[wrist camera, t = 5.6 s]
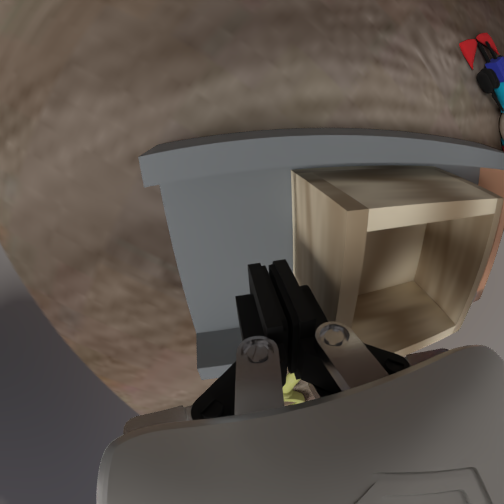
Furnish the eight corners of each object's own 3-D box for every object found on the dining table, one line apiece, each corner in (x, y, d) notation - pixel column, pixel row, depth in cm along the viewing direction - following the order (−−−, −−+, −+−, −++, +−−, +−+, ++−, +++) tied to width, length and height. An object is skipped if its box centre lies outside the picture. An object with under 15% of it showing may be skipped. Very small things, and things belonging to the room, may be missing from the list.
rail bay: (199, 333, 19) (201, 379, 15) (157, 144, 13) (138, 156, 9) (453, 275, 21) (479, 299, 18) (478, 143, 15) (516, 156, 11)
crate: (292, 309, 17) (323, 383, 12) (290, 169, 13) (347, 211, 8) (412, 281, 18) (458, 330, 13) (433, 166, 14) (503, 198, 9)
